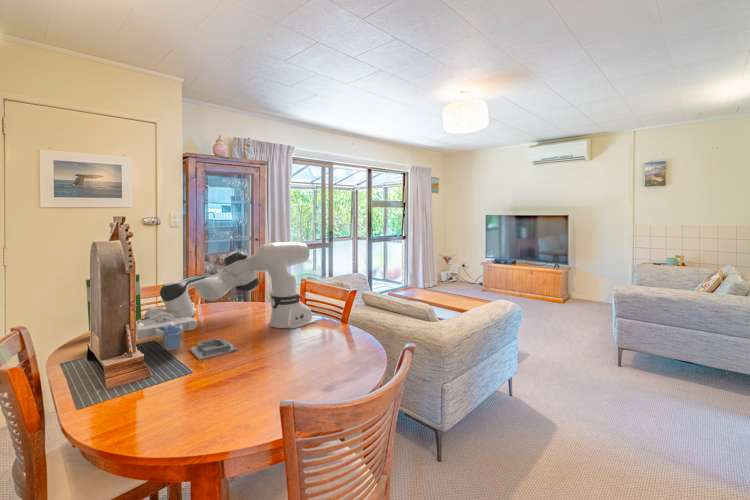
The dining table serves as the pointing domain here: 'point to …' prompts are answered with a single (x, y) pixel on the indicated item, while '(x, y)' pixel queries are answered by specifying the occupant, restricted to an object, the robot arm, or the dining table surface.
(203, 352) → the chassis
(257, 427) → the dining table surface
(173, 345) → the servo
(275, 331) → the dining table surface
